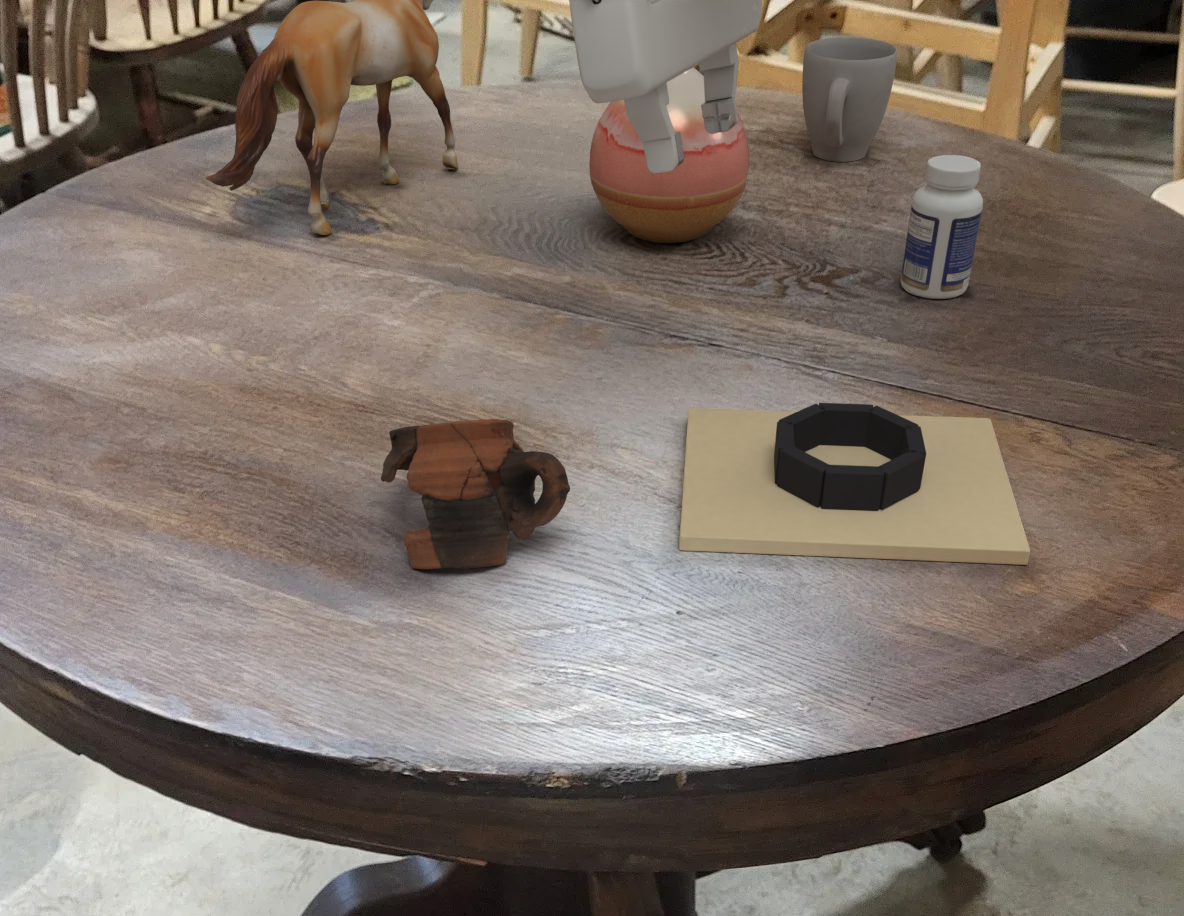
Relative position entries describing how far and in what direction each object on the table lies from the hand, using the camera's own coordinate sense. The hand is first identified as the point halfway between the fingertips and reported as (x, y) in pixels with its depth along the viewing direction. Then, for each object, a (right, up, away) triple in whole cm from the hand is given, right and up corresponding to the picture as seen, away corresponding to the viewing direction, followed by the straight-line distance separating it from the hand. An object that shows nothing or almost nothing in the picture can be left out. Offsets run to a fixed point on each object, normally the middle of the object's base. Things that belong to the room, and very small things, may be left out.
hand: (696, 149), depth 78 cm
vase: (0, +9, +37) cm, 38 cm away
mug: (+18, +22, +51) cm, 58 cm away
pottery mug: (-13, -23, 0) cm, 27 cm away
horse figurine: (-30, +15, +44) cm, 55 cm away
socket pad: (+10, -20, +3) cm, 22 cm away
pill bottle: (+21, 0, +27) cm, 34 cm away
